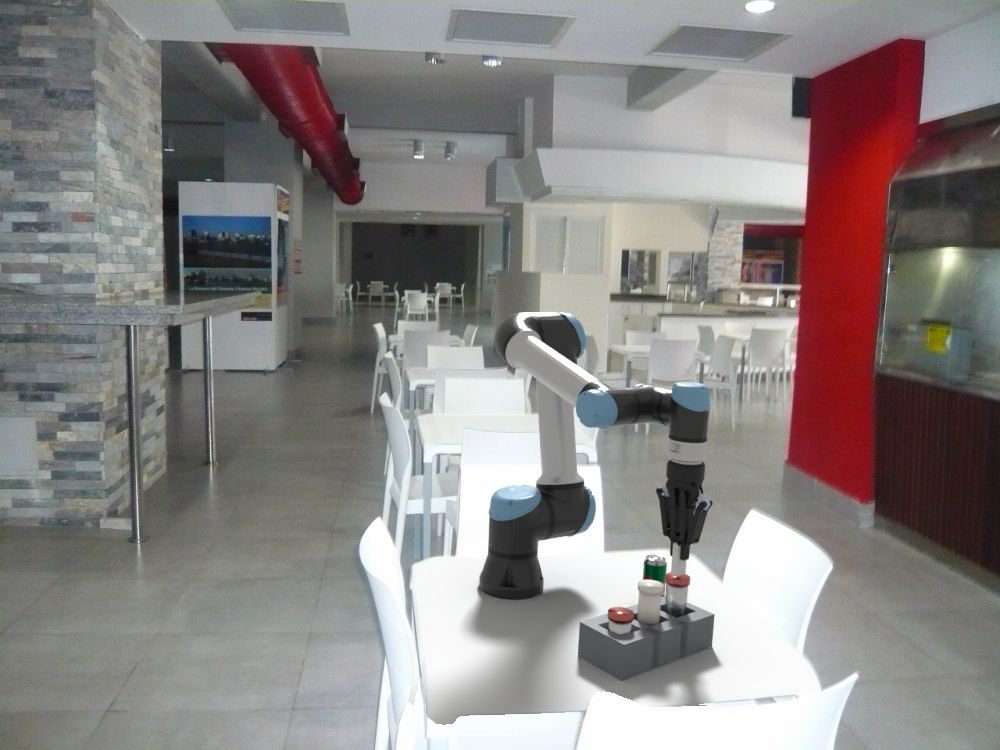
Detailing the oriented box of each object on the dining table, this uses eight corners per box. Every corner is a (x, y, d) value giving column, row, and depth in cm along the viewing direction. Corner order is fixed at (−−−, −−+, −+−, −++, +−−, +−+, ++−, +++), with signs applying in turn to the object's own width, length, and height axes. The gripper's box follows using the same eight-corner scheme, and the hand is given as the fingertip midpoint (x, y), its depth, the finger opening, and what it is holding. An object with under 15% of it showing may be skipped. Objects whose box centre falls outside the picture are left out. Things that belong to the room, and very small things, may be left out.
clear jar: (657, 617, 180) (660, 575, 178) (673, 611, 183) (676, 570, 181) (675, 625, 176) (679, 582, 174) (692, 620, 179) (695, 578, 178)
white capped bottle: (629, 625, 175) (632, 582, 173) (647, 620, 178) (650, 577, 177) (648, 635, 171) (651, 590, 170) (665, 629, 174) (668, 585, 173)
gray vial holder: (621, 680, 162) (624, 644, 161) (577, 655, 172) (579, 621, 171) (711, 646, 178) (714, 614, 177) (667, 625, 188) (669, 594, 187)
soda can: (663, 615, 193) (667, 562, 192) (640, 612, 194) (643, 560, 193) (663, 606, 198) (667, 555, 197) (641, 603, 199) (644, 552, 198)
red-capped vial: (599, 654, 170) (602, 610, 169) (617, 648, 173) (620, 605, 172) (618, 664, 166) (621, 619, 165) (636, 658, 170) (639, 613, 168)
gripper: (649, 455, 177) (641, 567, 181) (699, 469, 167) (691, 587, 170) (673, 451, 182) (666, 560, 185) (724, 465, 172) (715, 580, 175)
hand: (678, 573), depth 178 cm, fingers closed
